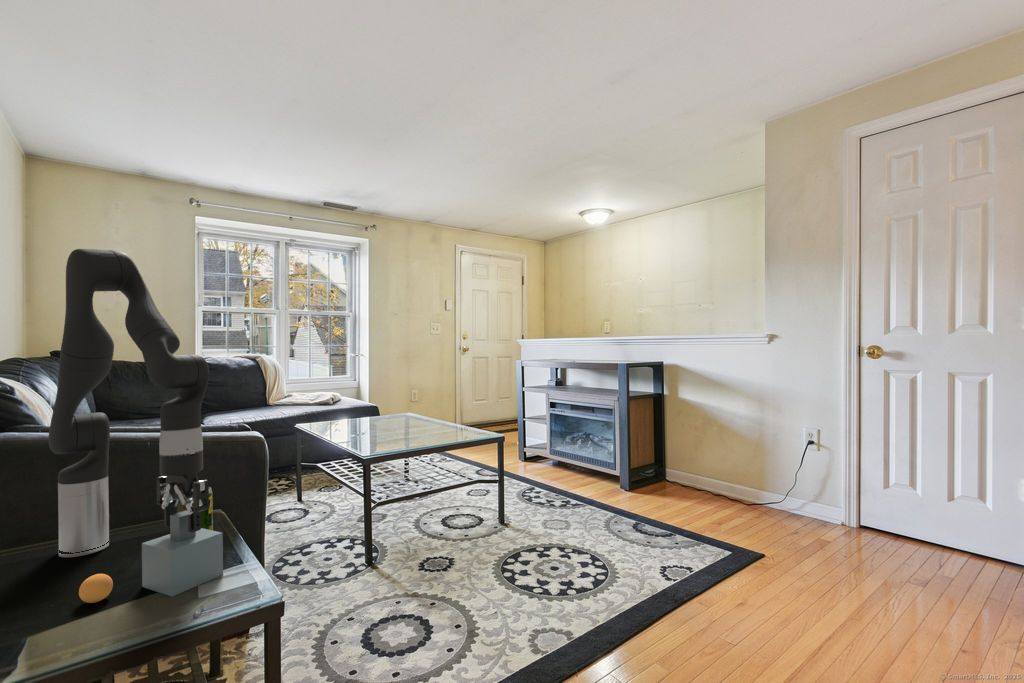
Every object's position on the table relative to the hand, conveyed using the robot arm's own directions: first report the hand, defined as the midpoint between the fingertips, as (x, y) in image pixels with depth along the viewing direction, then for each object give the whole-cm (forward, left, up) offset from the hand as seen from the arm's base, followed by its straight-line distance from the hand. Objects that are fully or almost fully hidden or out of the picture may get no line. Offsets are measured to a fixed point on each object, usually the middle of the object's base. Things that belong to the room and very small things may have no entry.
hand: (182, 528), depth 101 cm
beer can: (-22, +17, -11) cm, 30 cm away
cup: (-32, +20, -11) cm, 39 cm away
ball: (-7, -12, -8) cm, 16 cm away
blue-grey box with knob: (0, 0, -11) cm, 11 cm away
